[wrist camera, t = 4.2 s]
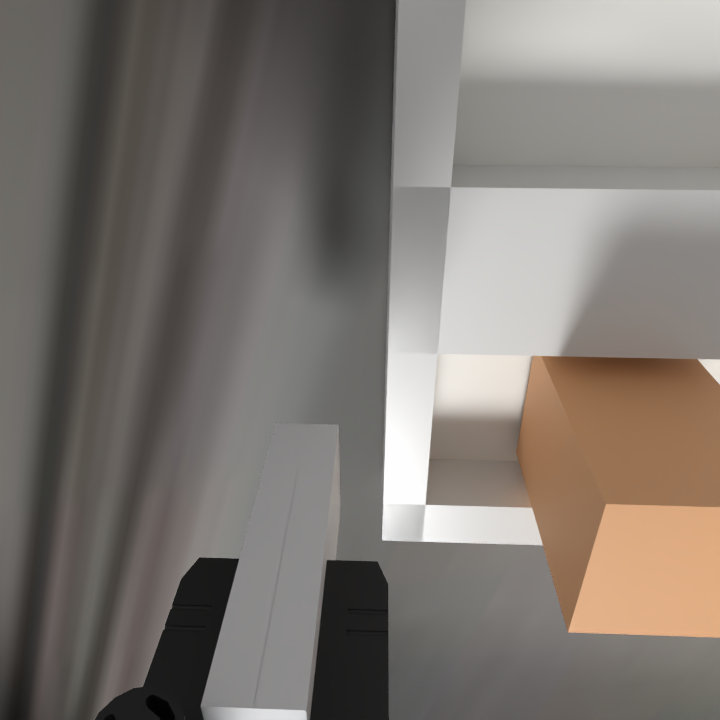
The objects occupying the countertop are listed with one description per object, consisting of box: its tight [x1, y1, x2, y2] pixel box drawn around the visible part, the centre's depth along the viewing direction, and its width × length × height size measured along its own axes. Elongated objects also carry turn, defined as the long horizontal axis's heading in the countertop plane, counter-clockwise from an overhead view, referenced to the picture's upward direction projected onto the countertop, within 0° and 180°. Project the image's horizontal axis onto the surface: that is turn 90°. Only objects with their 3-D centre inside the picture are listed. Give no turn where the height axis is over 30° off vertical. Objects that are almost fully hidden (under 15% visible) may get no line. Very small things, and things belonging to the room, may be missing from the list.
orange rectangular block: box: [516, 356, 720, 637], centre depth 14 cm, size 4×4×6 cm
